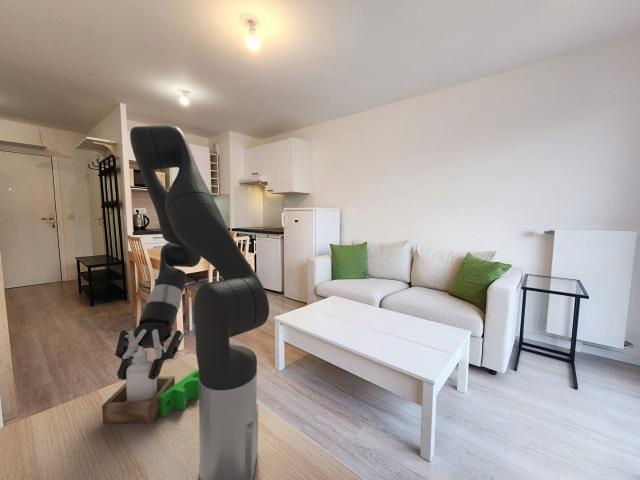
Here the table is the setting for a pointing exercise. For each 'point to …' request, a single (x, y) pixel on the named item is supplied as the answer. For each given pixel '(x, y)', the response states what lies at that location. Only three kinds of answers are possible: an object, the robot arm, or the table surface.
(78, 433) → the table surface
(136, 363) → the eye dropper bottle
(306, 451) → the table surface
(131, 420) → the box
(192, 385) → the pipe clamp
